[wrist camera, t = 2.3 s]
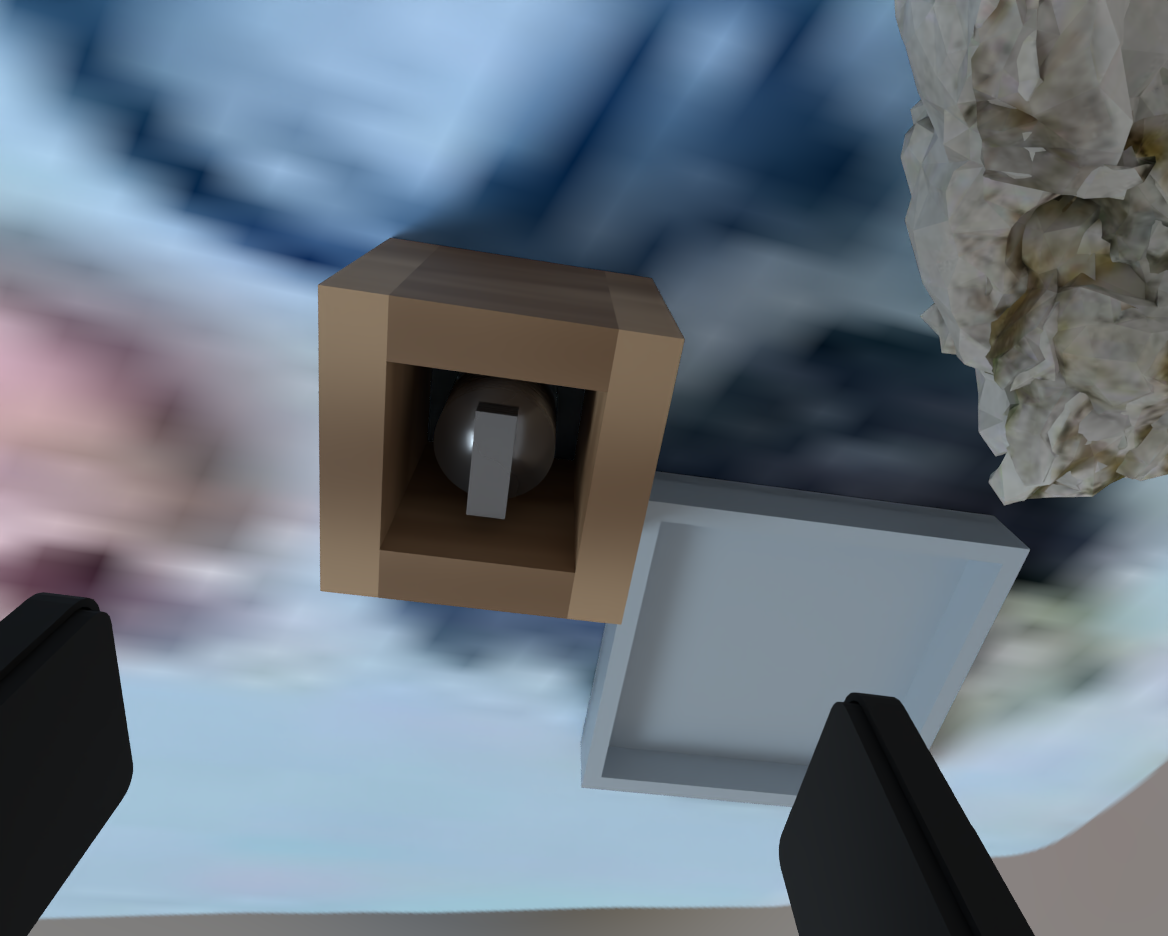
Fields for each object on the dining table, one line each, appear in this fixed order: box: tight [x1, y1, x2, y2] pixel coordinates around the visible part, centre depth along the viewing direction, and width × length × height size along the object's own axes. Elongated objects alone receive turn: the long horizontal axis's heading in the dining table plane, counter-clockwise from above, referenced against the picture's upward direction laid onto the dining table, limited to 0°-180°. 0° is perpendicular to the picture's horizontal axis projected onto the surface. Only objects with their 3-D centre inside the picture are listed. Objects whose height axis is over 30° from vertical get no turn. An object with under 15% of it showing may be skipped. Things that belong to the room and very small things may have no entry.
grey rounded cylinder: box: [433, 372, 558, 519], centre depth 18 cm, size 3×3×5 cm
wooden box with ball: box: [318, 238, 685, 625], centre depth 18 cm, size 8×7×6 cm
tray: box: [581, 471, 1030, 807], centre depth 24 cm, size 12×12×2 cm
